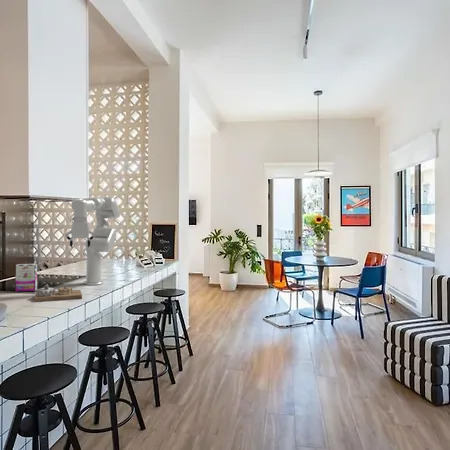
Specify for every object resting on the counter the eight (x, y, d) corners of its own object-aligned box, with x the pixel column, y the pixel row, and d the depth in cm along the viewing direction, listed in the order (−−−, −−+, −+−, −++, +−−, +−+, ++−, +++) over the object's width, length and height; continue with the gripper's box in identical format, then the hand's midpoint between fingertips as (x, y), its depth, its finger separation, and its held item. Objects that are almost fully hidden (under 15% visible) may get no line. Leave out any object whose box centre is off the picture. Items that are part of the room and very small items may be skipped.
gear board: (35, 295, 210) (36, 283, 209) (80, 293, 220) (80, 281, 219) (34, 301, 196) (34, 289, 196) (81, 298, 206) (82, 286, 206)
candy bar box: (37, 289, 225) (37, 263, 224) (35, 291, 220) (35, 264, 220) (17, 290, 222) (17, 263, 221) (14, 291, 217) (15, 264, 216)
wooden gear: (58, 292, 211) (58, 287, 211) (71, 291, 214) (71, 286, 214) (58, 295, 204) (58, 289, 204) (72, 294, 207) (72, 289, 207)
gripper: (65, 220, 217) (65, 248, 218) (95, 220, 224) (95, 247, 225) (65, 219, 224) (64, 246, 225) (94, 219, 231) (94, 246, 232)
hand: (80, 247), depth 225 cm, fingers open, 9 cm apart
